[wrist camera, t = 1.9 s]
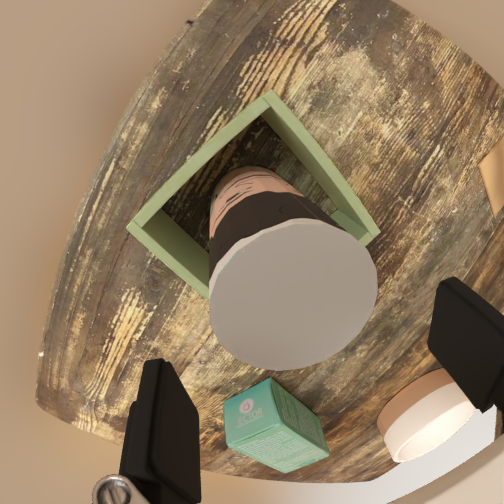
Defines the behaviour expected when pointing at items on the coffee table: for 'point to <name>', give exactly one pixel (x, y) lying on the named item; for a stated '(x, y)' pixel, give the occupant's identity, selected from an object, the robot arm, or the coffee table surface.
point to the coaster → (494, 175)
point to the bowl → (423, 415)
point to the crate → (271, 110)
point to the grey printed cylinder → (283, 274)
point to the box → (273, 428)
